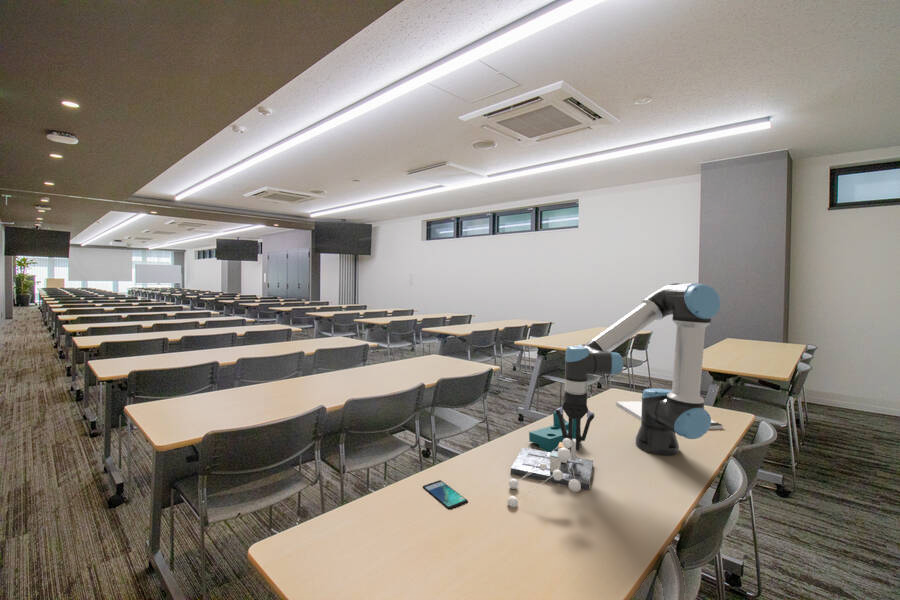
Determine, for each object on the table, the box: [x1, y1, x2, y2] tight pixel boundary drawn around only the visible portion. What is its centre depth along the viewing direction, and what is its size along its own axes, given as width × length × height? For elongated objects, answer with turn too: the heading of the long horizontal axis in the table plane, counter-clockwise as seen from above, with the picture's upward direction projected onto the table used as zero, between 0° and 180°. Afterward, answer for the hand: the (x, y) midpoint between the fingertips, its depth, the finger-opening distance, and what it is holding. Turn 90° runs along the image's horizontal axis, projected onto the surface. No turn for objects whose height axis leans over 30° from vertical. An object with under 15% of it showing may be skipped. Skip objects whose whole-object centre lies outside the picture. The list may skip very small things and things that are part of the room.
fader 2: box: [557, 442, 569, 463], centre depth 138 cm, size 3×4×5 cm
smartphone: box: [422, 479, 469, 510], centre depth 119 cm, size 7×1×15 cm
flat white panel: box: [615, 400, 724, 430], centre depth 192 cm, size 35×2×31 cm
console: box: [510, 446, 594, 491], centre depth 136 cm, size 25×18×2 cm
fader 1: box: [550, 450, 561, 472], centre depth 131 cm, size 3×4×5 cm
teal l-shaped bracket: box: [528, 411, 582, 452], centre depth 158 cm, size 18×11×10 cm, turn 124°
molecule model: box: [507, 438, 582, 508], centre depth 119 cm, size 14×25×18 cm, turn 98°
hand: (573, 458), depth 137 cm, fingers closed
